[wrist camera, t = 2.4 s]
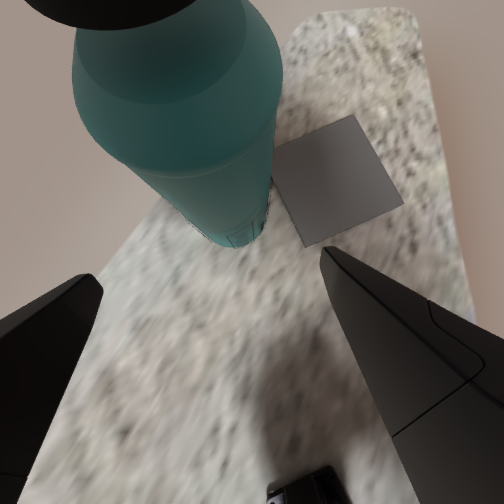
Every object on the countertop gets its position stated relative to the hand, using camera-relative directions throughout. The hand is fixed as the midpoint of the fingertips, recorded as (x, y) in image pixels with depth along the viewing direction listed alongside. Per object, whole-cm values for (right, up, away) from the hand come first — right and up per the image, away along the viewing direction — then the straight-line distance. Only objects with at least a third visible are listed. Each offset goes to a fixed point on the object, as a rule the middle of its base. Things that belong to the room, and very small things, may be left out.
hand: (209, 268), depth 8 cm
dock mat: (+10, +8, +14) cm, 19 cm away
